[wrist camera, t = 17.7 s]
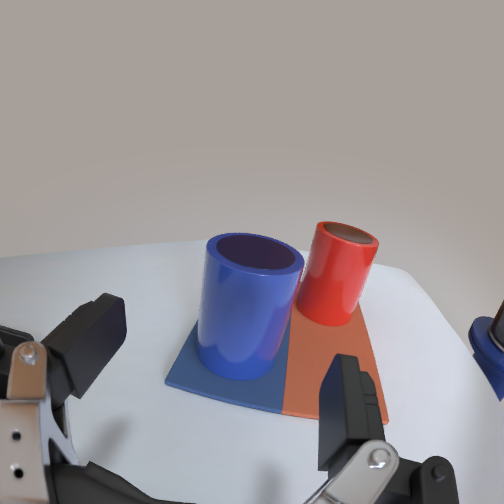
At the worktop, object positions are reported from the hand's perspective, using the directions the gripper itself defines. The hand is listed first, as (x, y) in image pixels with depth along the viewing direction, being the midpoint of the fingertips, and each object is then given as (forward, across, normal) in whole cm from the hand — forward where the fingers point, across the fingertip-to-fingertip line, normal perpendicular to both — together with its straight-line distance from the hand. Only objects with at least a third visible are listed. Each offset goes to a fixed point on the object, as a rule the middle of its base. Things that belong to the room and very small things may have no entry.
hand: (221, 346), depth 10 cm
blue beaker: (+9, 0, +8) cm, 12 cm away
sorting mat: (+14, -4, +9) cm, 17 cm away
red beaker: (+18, -7, +8) cm, 21 cm away
